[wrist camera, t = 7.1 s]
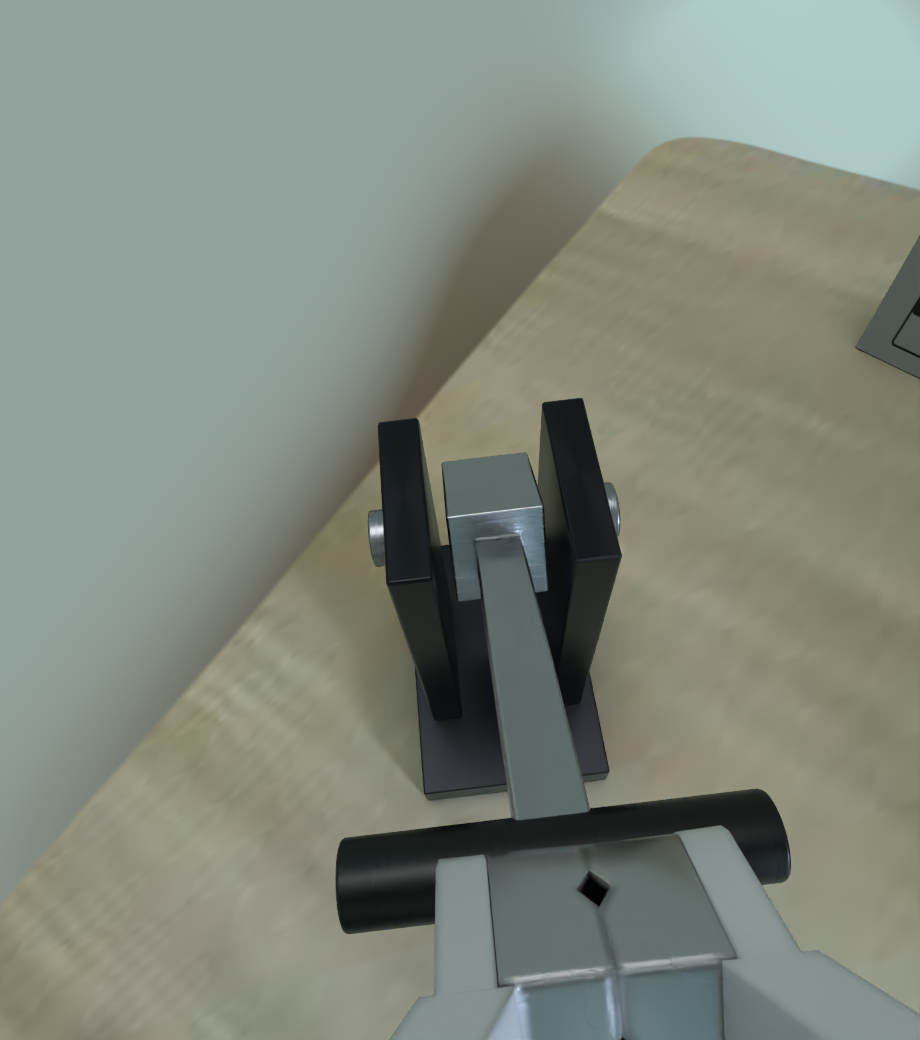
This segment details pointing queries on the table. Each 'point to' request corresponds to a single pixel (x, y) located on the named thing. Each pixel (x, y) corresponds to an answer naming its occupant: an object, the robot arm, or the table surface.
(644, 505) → the table surface
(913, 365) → the cassette player
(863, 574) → the table surface
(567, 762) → the lever
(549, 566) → the bracket
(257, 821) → the table surface
